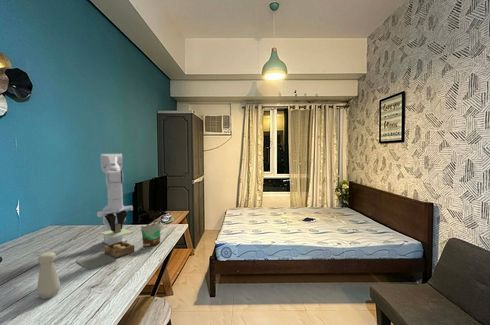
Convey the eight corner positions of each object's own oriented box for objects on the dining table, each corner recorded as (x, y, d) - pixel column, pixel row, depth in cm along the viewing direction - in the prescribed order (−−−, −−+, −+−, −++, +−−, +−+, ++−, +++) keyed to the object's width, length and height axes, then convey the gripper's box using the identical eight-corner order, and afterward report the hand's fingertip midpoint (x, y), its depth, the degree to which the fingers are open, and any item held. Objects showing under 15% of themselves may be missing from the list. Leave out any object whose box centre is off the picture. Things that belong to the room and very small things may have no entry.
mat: (76, 262, 103) (76, 261, 103) (102, 253, 111) (102, 253, 111) (89, 269, 96) (89, 269, 96) (116, 260, 104) (116, 259, 104)
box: (104, 253, 112) (104, 246, 112) (122, 247, 118) (122, 240, 118) (116, 258, 106) (116, 251, 106) (134, 252, 112) (134, 245, 112)
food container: (153, 249, 115) (153, 227, 115) (141, 248, 116) (140, 226, 116) (167, 239, 127) (166, 219, 127) (156, 239, 129) (155, 219, 128)
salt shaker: (45, 290, 82) (43, 250, 81) (64, 289, 82) (62, 249, 82) (32, 301, 76) (29, 258, 75) (52, 300, 76) (50, 257, 76)
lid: (100, 234, 110) (100, 224, 110) (120, 229, 117) (119, 220, 117) (113, 238, 104) (112, 228, 104) (133, 232, 111) (132, 223, 111)
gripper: (102, 202, 102) (103, 236, 103) (136, 196, 114) (137, 227, 114) (94, 200, 106) (95, 233, 107) (127, 195, 118) (128, 224, 119)
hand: (116, 229), depth 111 cm, fingers closed on lid, 2 cm apart
